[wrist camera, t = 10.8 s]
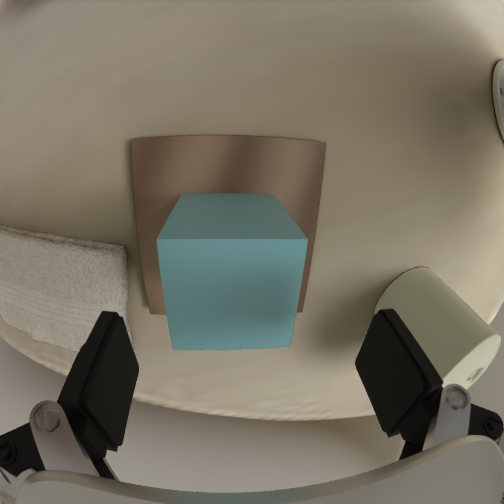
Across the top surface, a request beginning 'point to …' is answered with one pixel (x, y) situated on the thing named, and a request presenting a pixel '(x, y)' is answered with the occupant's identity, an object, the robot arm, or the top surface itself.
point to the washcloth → (60, 285)
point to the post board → (221, 186)
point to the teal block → (231, 271)
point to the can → (442, 325)
